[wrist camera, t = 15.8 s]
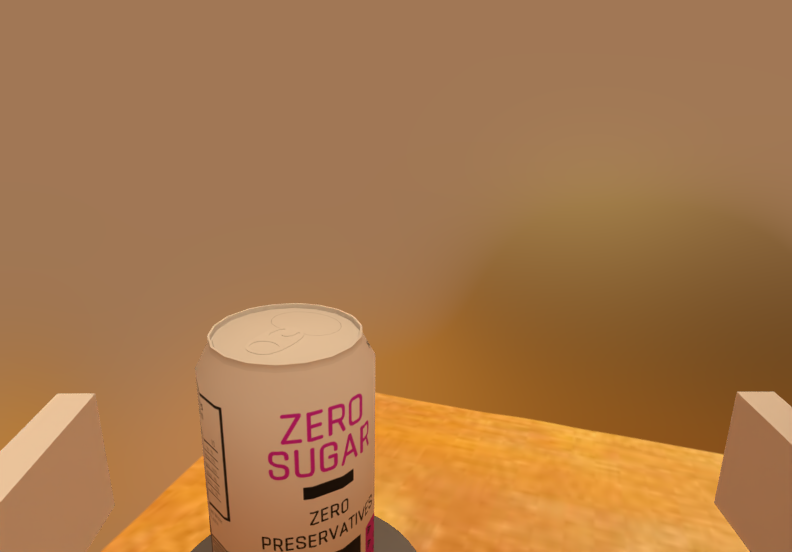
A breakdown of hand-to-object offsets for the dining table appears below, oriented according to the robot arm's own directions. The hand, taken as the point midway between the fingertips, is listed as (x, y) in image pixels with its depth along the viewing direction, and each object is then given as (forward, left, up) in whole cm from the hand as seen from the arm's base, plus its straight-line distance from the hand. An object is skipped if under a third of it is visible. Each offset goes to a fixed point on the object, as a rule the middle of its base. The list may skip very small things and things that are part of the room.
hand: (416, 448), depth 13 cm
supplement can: (-11, -12, -19) cm, 25 cm away
